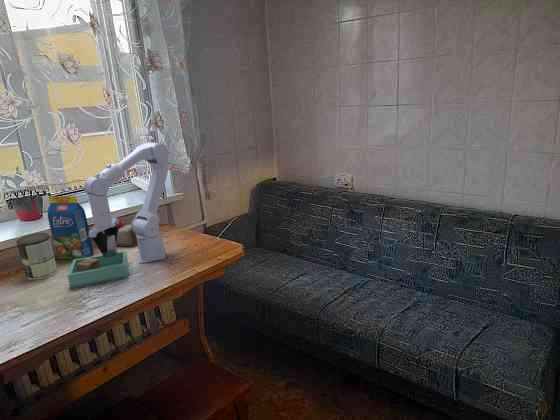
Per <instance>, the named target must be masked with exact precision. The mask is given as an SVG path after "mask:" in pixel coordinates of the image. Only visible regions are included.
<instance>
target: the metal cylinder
mask: <svg viewBox="0 0 560 420" xmlns="http://www.w3.org/2000/svg"><path fill="white" fill-rule="evenodd" d="M117 247H118V246H116V242H115V237H114V234H112V233H108V236H107V253H101V255H102V256H103V257H113V256H115V255H117V254H118V252H119V251H118V248H117Z"/></svg>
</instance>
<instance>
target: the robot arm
mask: <svg viewBox="0 0 560 420" xmlns="http://www.w3.org/2000/svg"><path fill="white" fill-rule="evenodd" d="M170 154H171V152H170V150H169V149H168V147H167V145H166V144H165V143H163V142H148V141H144V142H142V143H141V144H139V145H137V146H136V147H135V149H134V150H133V151H132V152H131V153H129V154H128V155H127V156H126V157H124V158H123V159H122V160H121V161H119V162H118V163H111V164H110V163H107V164H105V168H104V169H103V170H101V171H100V172H95V174H94V177H93V176H91V177H89V178H87V179H85V180H84V181H85V182H84V184H83V186H82V187H83V188H82V189H83V191H84V192H85V193H86V194H87V195H88V201H89V205H90V210H91V214H92V218H93V219H92V220H93V225H94V226H93V227H92V228H91V229H90V230H89V237H90V238H91V241H93V242H94V243H95V245H96V246H97V248H98V250H99V252H100V253H101V254H102V253H107V236H108V233H112V234H114V237H115V242H116V240H117V233H118V230H119V226H118V225H116V224H118V223H119V220H118V219H119V218H118V217H112V215H111V208H110V204H109V198H108V193H109V190H110V187H112V186H113V185H115V184H116V183H117V182H119V181H120V180H121V179H122V178H123V177H124V176H125V175H124V174H125V172H126V171H127V170H130V168H132V167H133V166H135V165H136V164H138V163H140V162H141V161H146V162H147V163H148V164H149V165H150V167H151V168H152V171H151V175H150V177H149V178H150V180H149V183H148V187H147V189H146V194H145V197H144V200H143V203H142V206H141V209H140V210H139V211H138V212H136V214H135V217H134V219H133V220H132V221H131V223H130V225H131V229H132V231H133V232H134V233H136V237H137V243H138V245H137V246H138V252H139V254H138V257H139V258H138V260H139V261H138V262H139V264H144V263H148V262H154V261H160V260H166V258H167V257H166V247H165V246H164V244H165V243H164V239H163V234H162V233H159V231H160V225H159V224H160V217H159V215H158V213H157V212H158V209H159V206H160V202H161V198H162V196H163V195H162V194H163V190H164V187H165V183H166V181H167V177H168V173H169V169H170V165H169V164H170V163H169V156H170Z"/></svg>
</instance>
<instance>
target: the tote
mask: <svg viewBox="0 0 560 420" xmlns="http://www.w3.org/2000/svg"><path fill="white" fill-rule="evenodd" d="M117 252H118V254H117V255H115V256H113V257H103V256H102V254H100V255H98V254H97V255H92V256H90V257H87V258H91V259H99V263H100V268H99V269H94V270H88V271H83V272H78V268H77V263H79V262H81V261H83V260H85V259H87V258H81V259H75V260H72V262H71V265H70V268H69V270H68V274H67V278H68V282H69V288H70V289H71V290H73V289H79V288H83V287H89V286H94V285H99V284H104V283H109V282H110V283H111V282H115V281H121V280H125V279H128V278H129V259H128V253H127V250H122V251H117Z"/></svg>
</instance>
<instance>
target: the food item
mask: <svg viewBox="0 0 560 420" xmlns="http://www.w3.org/2000/svg"><path fill="white" fill-rule="evenodd" d="M116 225H118V226H119V230H118V233H117V240H116V247H134V248H135V247H136V246H138V243H137V237H136V233H134V232H133V231H132V229H131V224H127V223H126V222H125V220H123V221H118V224H116Z"/></svg>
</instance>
